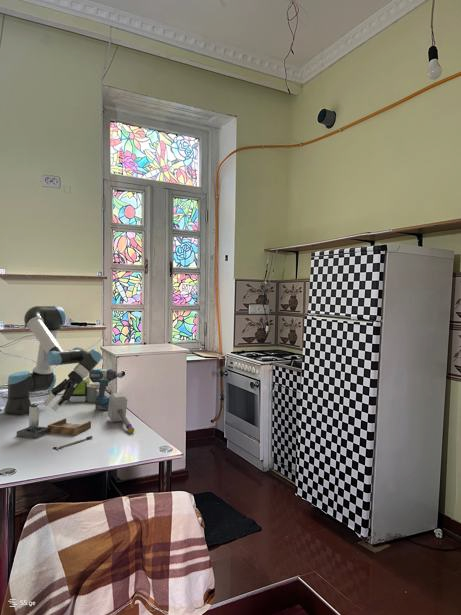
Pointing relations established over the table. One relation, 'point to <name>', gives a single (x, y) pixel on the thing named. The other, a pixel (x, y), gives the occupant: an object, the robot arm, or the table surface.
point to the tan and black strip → (72, 443)
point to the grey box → (92, 392)
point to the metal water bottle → (34, 418)
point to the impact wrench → (103, 385)
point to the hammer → (119, 410)
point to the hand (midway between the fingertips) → (48, 407)
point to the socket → (34, 435)
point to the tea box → (80, 391)
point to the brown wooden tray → (68, 427)
